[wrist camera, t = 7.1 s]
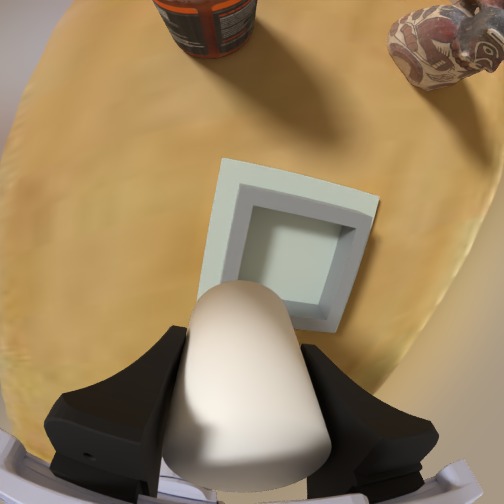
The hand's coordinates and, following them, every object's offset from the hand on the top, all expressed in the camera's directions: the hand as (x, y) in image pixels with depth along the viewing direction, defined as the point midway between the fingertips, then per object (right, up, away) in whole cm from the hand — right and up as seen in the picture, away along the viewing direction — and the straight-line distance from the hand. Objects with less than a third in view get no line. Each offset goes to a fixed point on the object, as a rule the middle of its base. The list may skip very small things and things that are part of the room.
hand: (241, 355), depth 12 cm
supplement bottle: (-2, +21, +4) cm, 22 cm away
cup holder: (+3, +4, +10) cm, 11 cm away
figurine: (+15, +22, +5) cm, 27 cm away
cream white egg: (0, +1, +2) cm, 2 cm away
